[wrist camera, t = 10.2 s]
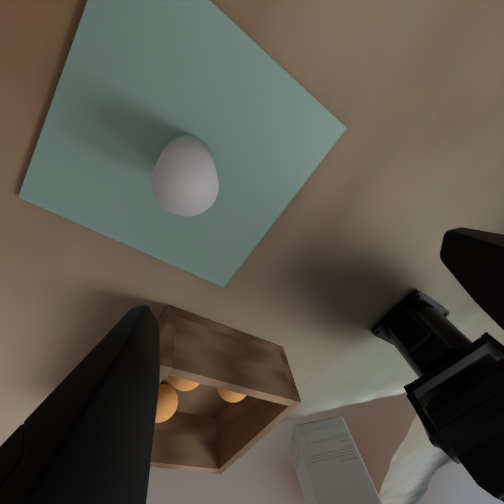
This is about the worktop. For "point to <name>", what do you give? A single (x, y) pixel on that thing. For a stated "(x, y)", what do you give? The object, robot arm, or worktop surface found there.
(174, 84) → the lid
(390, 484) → the worktop surface
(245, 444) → the box
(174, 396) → the ball
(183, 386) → the ball
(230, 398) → the ball
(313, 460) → the supplement box
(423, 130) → the worktop surface
